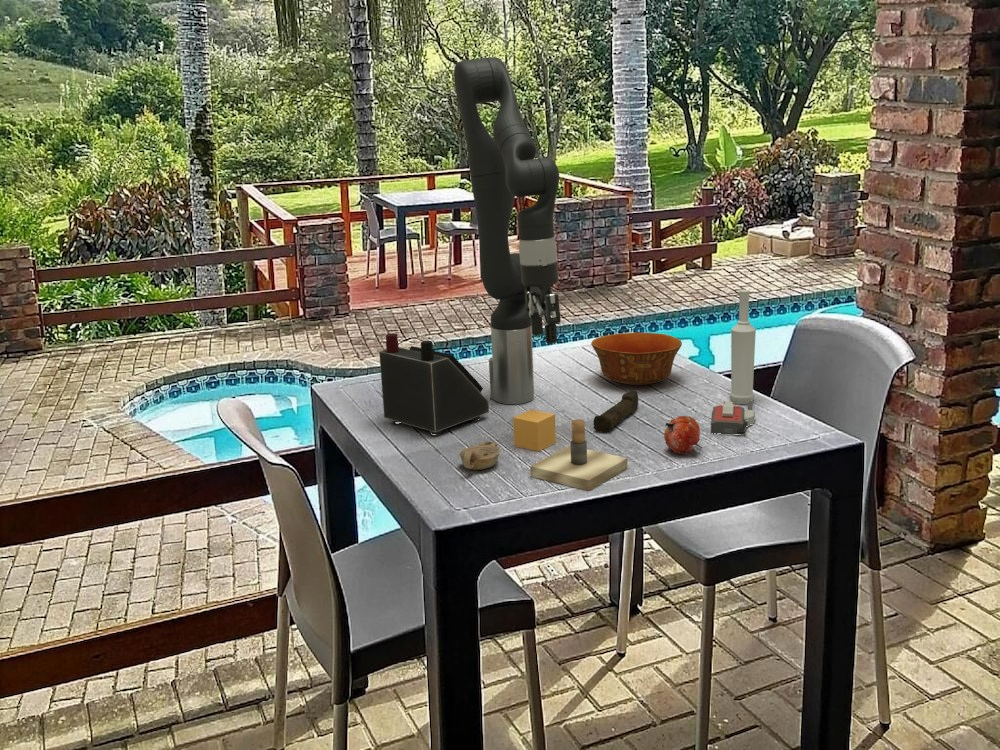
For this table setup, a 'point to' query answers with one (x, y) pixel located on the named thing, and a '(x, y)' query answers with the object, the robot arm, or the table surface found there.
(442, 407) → the voltmeter
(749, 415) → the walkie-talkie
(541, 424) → the mustard yellow cube
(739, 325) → the bottle
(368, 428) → the table surface
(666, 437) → the pomegranate
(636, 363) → the bowl
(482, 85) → the robot arm
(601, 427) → the hand tool
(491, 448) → the oil lamp
